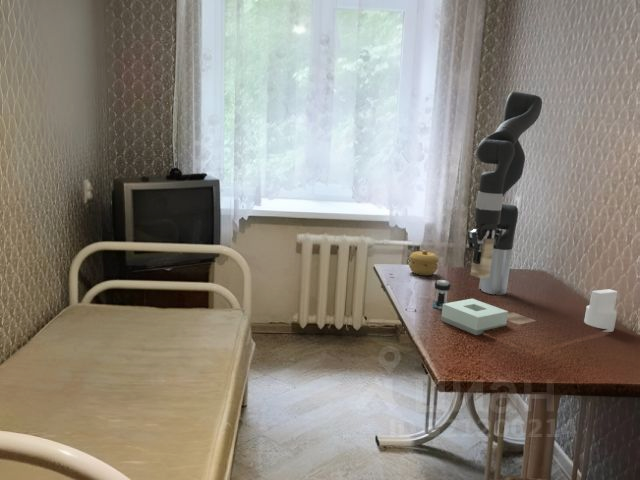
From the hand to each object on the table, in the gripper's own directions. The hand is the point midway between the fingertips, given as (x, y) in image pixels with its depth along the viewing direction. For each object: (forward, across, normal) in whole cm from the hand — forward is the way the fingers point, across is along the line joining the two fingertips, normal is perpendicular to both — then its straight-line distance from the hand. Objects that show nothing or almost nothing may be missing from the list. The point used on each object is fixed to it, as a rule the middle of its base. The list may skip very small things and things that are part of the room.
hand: (481, 262), depth 184 cm
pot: (+20, -30, -52) cm, 63 cm away
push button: (+20, -1, -14) cm, 25 cm away
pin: (+4, 0, 0) cm, 4 cm away
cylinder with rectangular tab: (+20, -38, +20) cm, 47 cm away
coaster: (+20, -16, +4) cm, 26 cm away
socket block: (+20, 0, 0) cm, 20 cm away
